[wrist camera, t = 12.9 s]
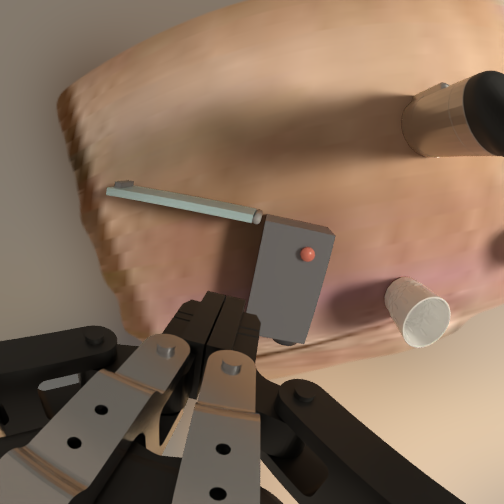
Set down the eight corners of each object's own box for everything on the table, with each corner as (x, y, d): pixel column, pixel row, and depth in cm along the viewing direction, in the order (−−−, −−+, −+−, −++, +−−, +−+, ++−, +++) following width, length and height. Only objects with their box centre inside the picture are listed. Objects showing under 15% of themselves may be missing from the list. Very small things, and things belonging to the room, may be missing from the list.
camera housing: (266, 214, 43) (265, 221, 37) (327, 227, 43) (336, 236, 37) (244, 321, 48) (239, 342, 41) (299, 331, 48) (301, 354, 41)
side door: (264, 204, 42) (262, 210, 36) (261, 217, 43) (259, 224, 37) (128, 179, 43) (107, 181, 36) (127, 191, 43) (106, 194, 37)
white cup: (378, 279, 44) (401, 305, 35) (421, 267, 43) (451, 290, 34) (382, 322, 46) (402, 354, 37) (422, 310, 45) (448, 338, 36)
